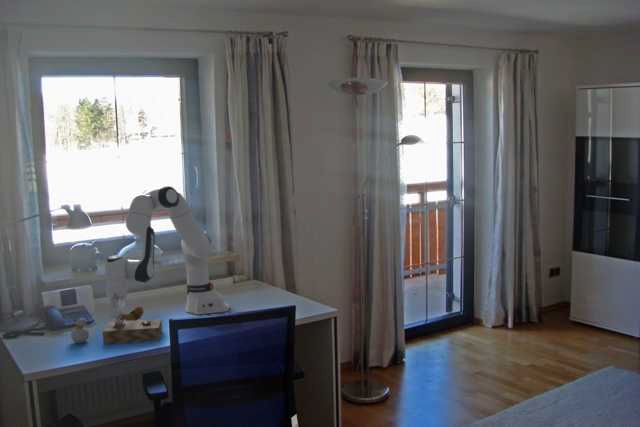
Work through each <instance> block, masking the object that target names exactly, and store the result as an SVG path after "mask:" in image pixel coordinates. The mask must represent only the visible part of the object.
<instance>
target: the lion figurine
mask: <svg viewBox="0 0 640 427" xmlns="http://www.w3.org/2000/svg"><path fill="white" fill-rule="evenodd" d="M143 314H144V307H143V306H141V305H138V306H136V307H135V308H134V309H133V310H132V311H131V312H129V313H125V312H124V313H123V312H122V313H121V320H122V321H135V320H141V318H142V316H143Z"/></svg>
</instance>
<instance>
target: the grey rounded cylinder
mask: <svg viewBox="0 0 640 427" xmlns="http://www.w3.org/2000/svg"><path fill="white" fill-rule="evenodd" d="M124 321H125V320H124ZM124 321H122V320H121V321H120V322H119V323H117V322H116V320H115V321H113V322H114V325H113V328H119V327H124V326H125V322H124Z"/></svg>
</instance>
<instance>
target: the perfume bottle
mask: <svg viewBox="0 0 640 427" xmlns="http://www.w3.org/2000/svg"><path fill="white" fill-rule="evenodd" d="M86 325H87V319H86V318H83V317H80V316H78V318H77V322H75V327H74V328H73V330H72V331H71V335H70V336H71V340H72V341H73V343H76V344H83V343H85V342H87V341H88V339H89V337H90V333H89V330H88V329H87V328H86V327H85V326H86Z"/></svg>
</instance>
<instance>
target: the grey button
mask: <svg viewBox="0 0 640 427" xmlns="http://www.w3.org/2000/svg"><path fill="white" fill-rule="evenodd" d="M150 325H152V323H151V321H143V322H142V325H141V326H150Z"/></svg>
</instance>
